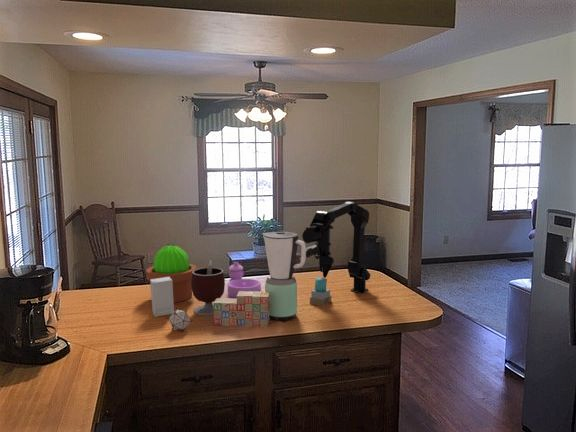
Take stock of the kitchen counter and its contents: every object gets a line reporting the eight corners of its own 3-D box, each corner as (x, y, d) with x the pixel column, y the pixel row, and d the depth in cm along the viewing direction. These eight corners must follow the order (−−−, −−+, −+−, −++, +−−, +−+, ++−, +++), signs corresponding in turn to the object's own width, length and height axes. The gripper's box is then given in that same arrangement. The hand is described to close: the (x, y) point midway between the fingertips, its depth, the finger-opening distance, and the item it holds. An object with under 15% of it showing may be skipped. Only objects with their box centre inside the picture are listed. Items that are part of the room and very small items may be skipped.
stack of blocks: (213, 325, 191) (212, 295, 190) (216, 320, 198) (216, 290, 196) (268, 327, 190) (268, 296, 188) (269, 321, 196) (269, 291, 194)
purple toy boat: (265, 299, 224) (264, 271, 222) (232, 303, 218) (232, 274, 216) (249, 284, 247) (248, 259, 245) (219, 288, 241) (218, 261, 239)
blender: (255, 318, 198) (254, 233, 193) (269, 308, 211) (269, 228, 205) (299, 325, 191) (299, 237, 186) (311, 314, 203) (311, 231, 198)
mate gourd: (222, 316, 202) (221, 268, 199) (189, 316, 202) (187, 268, 199) (227, 304, 217) (227, 259, 214) (196, 303, 217) (195, 259, 214)
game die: (176, 337, 189) (169, 313, 192) (197, 329, 189) (190, 305, 193) (168, 334, 180) (161, 309, 184) (190, 326, 181) (182, 301, 184)
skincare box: (171, 309, 209) (170, 276, 207) (174, 314, 204) (173, 279, 202) (151, 312, 206) (149, 278, 203) (154, 317, 200) (152, 282, 198)
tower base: (317, 299, 224) (317, 293, 223) (331, 302, 220) (331, 296, 219) (309, 304, 218) (309, 297, 217) (323, 306, 214) (323, 300, 214)
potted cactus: (181, 307, 213) (179, 250, 209) (138, 301, 220) (135, 247, 216) (205, 292, 233) (204, 240, 230) (165, 288, 240) (163, 238, 237)
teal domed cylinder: (318, 287, 221) (319, 276, 220) (328, 290, 218) (328, 279, 218) (312, 290, 217) (313, 279, 216) (322, 292, 214) (322, 281, 214)
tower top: (318, 293, 223) (318, 287, 222) (330, 296, 219) (330, 289, 219) (311, 297, 218) (311, 290, 217) (322, 299, 214) (322, 293, 214)
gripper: (302, 236, 223) (302, 269, 225) (307, 244, 205) (307, 281, 207) (327, 235, 224) (326, 269, 226) (334, 244, 206) (333, 280, 208)
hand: (323, 274), depth 217 cm, fingers open, 9 cm apart
